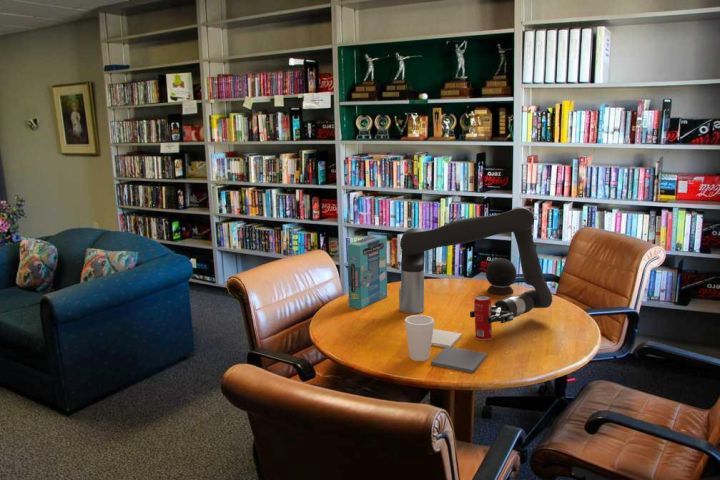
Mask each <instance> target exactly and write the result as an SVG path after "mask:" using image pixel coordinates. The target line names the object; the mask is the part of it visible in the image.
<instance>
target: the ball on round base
mask: <svg viewBox="0 0 720 480" xmlns="http://www.w3.org/2000/svg"><path fill="white" fill-rule="evenodd" d="M516 269H517V268H516V266H515V265H514V264H513V262H511V261H510V260H509V259H506V258H503V257H502V258H501V257H499V258H496V259H493V260H491V261H490V262H489V263H488V265H487V267H486V269H485V277H486V279H487V280H486V281H487V282H488V283H489V284H490V285H489V287H488V288H487V293H489V294H492V295H495V296H509V295H512V294H514V289H513V287H512V285H513V283H515V281H516V278H517V270H516Z"/></svg>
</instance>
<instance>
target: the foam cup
mask: <svg viewBox="0 0 720 480" xmlns="http://www.w3.org/2000/svg"><path fill="white" fill-rule="evenodd" d="M404 327H405V331H406V338H407V346H408V353H409V358H410V359H411V360H413V361H416V362H425V361H427V360H429V358H430V354H431V348H432V345H431V342H432V335H433V329H435V319H434V317H432V316H430V315H426V314H425V315H424V314H412V315H410V316H406V317H405V319H404Z"/></svg>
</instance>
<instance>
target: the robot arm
mask: <svg viewBox="0 0 720 480" xmlns="http://www.w3.org/2000/svg"><path fill="white" fill-rule="evenodd" d="M534 221H535V216H534V214H533V212H532V211H531V210H530V209H529V208H527V207H526V206H525V207H524V206H515V207H514V208H512V209H511V210H509V211H506V212H504V211H503V212H502V213H499V214H493V215H481V216H480V215H479V216H472V217H467V218H461V219H457V220H454V221H452V222H448V223H446V224H443V225H441V226H439V227H437V228H434V229H429V230H423V231H421V230H419V229H418V228H409V229H407V230H405V231H404V233H403V234H402V236H401V238H400V240H399V241H400V242H399V245H400V249H401V258H400V259H401V260H400V261H401V262H400V287H399V288H398V297H399V298H398V304H399V305H398V307H399V308H398V309H399V310H398V311H399V312H403V313H405V314H412V315H418V314H420V313H421V314H422V313H423V312H424V311H425V305H424V304H425V260H426V259H425V252H427V251H430V250H434V249H437V248H444V247H450V246H455V245H461V244H467V243H472V242H476V241H480V240H483V239H486V238H490V237H493V236H496V235H499V234H500V235H501V234H507V233H508V234H509V233H513V235H514V237H515V240H516V241H515V242H516V245H517V250H518V255H519V261H520V266H521V272H522V276H523V279H524V282H525V284H526V285H528V286H531V287H533V288H534V289H530V290H529V289H528V290H526V291H524V292H523V293H521V294H518V295H515V296H509V297H506V298H502V299H499V300H497V301H496V302H495V303H494V305H491V316H490V317H487V323H488V324H490V323H492V324H494V323H499V322H500V324H505V323H508V322H511V321H514V318H516V317H519V316H521V315H523V314H526V313H529V312H531V311H532V310H533V309H547V308H550V307H551V305H552V303H553V294H552V292H551V290H550V287H549V286H548V284H547V281H546V280H545V278H544V275H543V271H542V267H541V261H540V258H539V255H538V252H537V250H536V249H537V248H536V246H535V243H534V238H533V228H532V226H533V224H534ZM469 317H470V318H475V310H474V309H473V310H471V311H470V312H469Z"/></svg>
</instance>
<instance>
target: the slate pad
mask: <svg viewBox="0 0 720 480" xmlns="http://www.w3.org/2000/svg"><path fill="white" fill-rule="evenodd" d="M487 355H488V353H486V352H481V351H474V350H469V349H464V348H459V347H453V346H452V347H448V346H446V347H443V349H442V350H440V352H439V353H438V354H437V355H436V356H435V357H434V358H433V359H432V360H431V362H430V365H431V366H435V367H442V368H445V369H451V370H456V371H459V372H460V371H462V372H465V373H466V372H467V373H470V374H471V373H472V374H474V373H475V372H476V371H477V370H478V368H479V367H480V366H481V364H483V362H484V361H485V360H486V358H487V357H488V356H487Z"/></svg>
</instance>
